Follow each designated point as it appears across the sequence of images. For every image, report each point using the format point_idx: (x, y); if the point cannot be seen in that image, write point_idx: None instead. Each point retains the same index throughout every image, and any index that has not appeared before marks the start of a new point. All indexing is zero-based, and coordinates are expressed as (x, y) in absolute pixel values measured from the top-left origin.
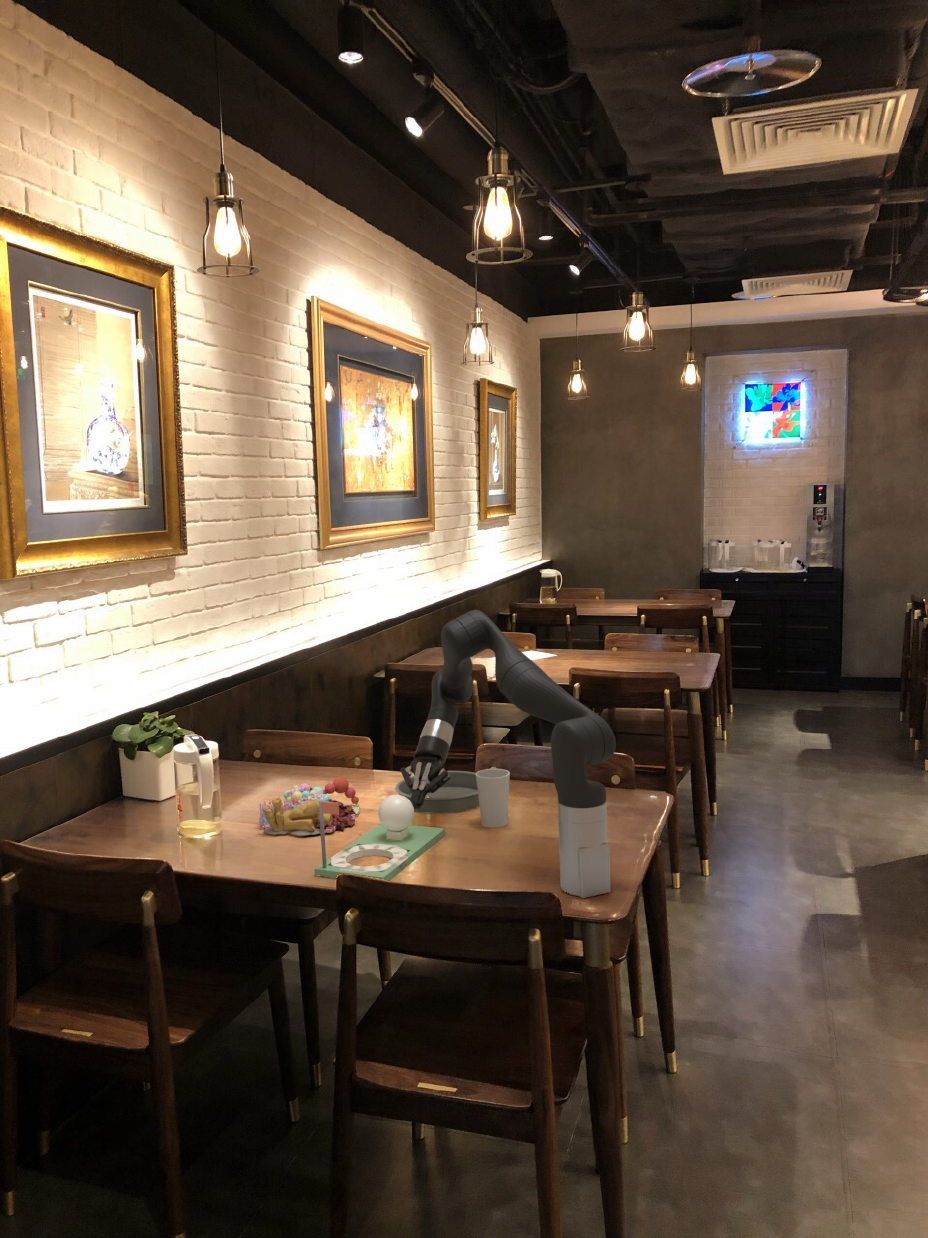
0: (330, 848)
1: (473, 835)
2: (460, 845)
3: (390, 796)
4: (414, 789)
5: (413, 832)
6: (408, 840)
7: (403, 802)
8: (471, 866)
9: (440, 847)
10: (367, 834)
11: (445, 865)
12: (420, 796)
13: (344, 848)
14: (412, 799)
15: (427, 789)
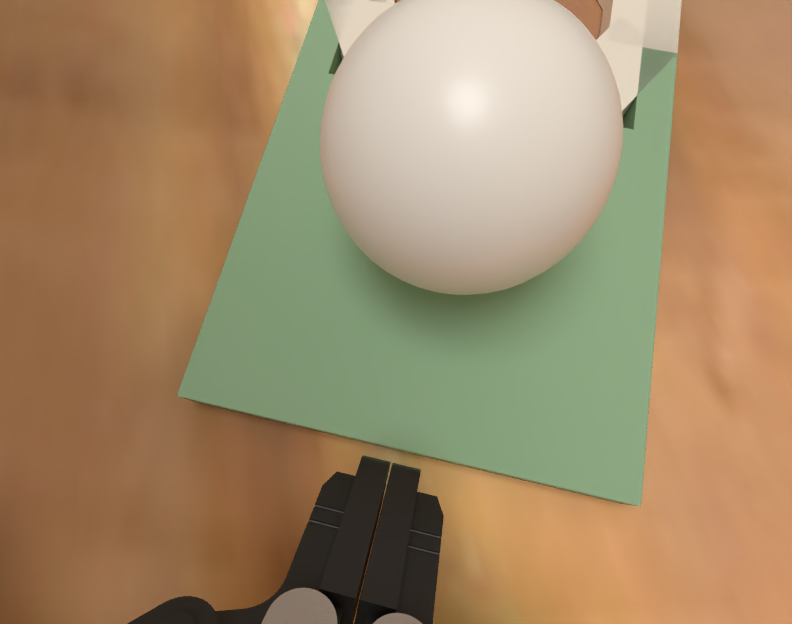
0: (776, 172)
1: (21, 408)
2: (100, 249)
3: (541, 28)
4: (405, 616)
5: (369, 316)
6: None
7: (384, 16)
8: (52, 24)
9: (205, 217)
10: (643, 265)
11: (164, 26)
12: (325, 537)
13: (674, 70)
14: (411, 500)
15: (225, 613)
